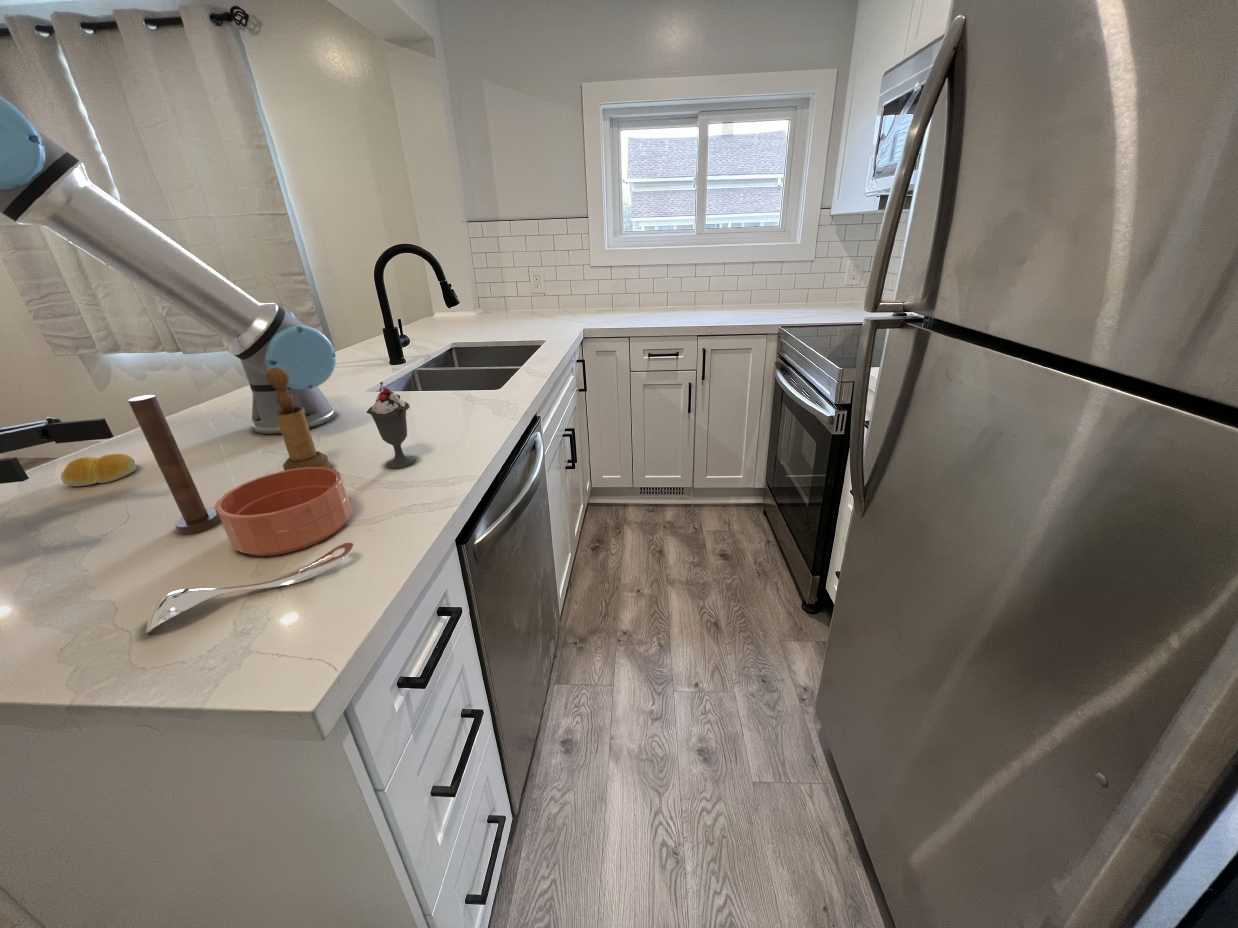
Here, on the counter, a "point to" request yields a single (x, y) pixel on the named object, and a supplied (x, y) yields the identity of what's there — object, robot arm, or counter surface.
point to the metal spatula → (235, 588)
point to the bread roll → (97, 469)
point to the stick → (172, 466)
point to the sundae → (392, 424)
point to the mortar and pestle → (294, 426)
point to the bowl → (284, 510)
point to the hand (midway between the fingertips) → (68, 446)
